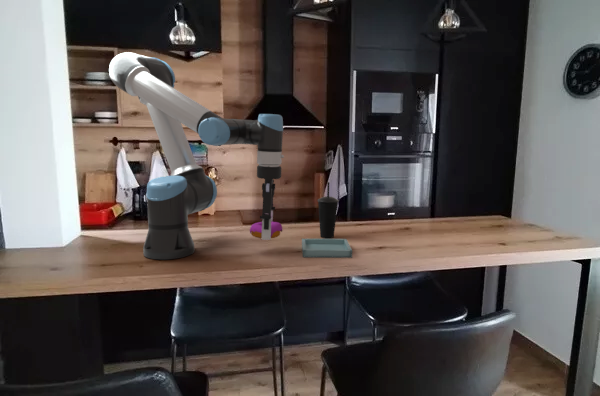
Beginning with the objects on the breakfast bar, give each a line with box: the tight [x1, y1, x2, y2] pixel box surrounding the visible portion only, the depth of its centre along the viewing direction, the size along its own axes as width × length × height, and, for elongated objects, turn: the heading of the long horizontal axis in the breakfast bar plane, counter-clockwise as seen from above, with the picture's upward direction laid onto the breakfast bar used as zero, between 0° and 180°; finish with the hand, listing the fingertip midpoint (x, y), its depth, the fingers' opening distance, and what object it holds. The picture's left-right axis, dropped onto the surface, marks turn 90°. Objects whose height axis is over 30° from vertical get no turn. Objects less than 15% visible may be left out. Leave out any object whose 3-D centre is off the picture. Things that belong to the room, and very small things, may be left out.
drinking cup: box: [317, 181, 340, 239], centre depth 150 cm, size 8×8×20 cm
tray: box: [301, 238, 353, 259], centre depth 134 cm, size 15×14×2 cm
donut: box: [249, 221, 283, 239], centre depth 132 cm, size 10×10×5 cm
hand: (267, 234), depth 132 cm, fingers closed on donut, 11 cm apart
